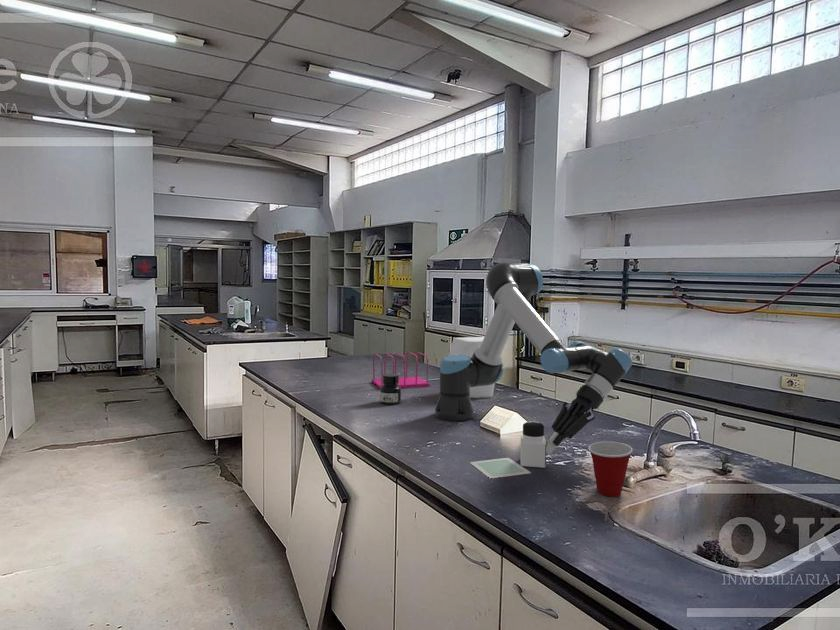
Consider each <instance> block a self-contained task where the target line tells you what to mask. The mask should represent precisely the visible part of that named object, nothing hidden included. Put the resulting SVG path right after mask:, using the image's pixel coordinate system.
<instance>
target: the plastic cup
mask: <svg viewBox="0 0 840 630" xmlns="http://www.w3.org/2000/svg"><path fill="white" fill-rule="evenodd" d="M587 449H588V451H589V453H590V455H591V456H590V457H591V459H592V466H593V473H594V479H595V486H596V490H597V492H598V494H600V495H603V496H606V497H619V496H621V494H622V491H623V488H624V487H623V486H624V483H625V479H626V476H627V475H626V474H627V472H628V471H627V470H628V467H629V466H628V464H629V461H630V458H631V454H632V453H633V451H634V450H633V448H632V446H630V445H629V444H626V443H622V442H617V441H598V442H597V441H596V442H593V443H590V444H589V445H588V446H587Z"/></svg>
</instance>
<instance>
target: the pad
mask: <svg viewBox="0 0 840 630" xmlns="http://www.w3.org/2000/svg"><path fill="white" fill-rule="evenodd" d="M469 463H470V464H471V465H472V466H473V467H474V468H476V469H477V470H479V472H480V473H482V474H483V475H484V476H486V477H487V478H488V477H489V478H488V479H489V480H491V478H492V479H498V478H499V477H500V478H505V477H513V476H520V475H521V476H522V475H528V474H532V472H531V471H530V470H528V469H527V468H525V467H524V466H521V465H520V463H517V462H516V461H514V460H512V459H511V458H510V457H503V458H494V459H485V460H477V461H470V462H469ZM500 478H499V479H500Z"/></svg>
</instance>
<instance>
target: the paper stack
mask: <svg viewBox="0 0 840 630" xmlns="http://www.w3.org/2000/svg"><path fill="white" fill-rule="evenodd" d="M484 337H485V336H469V337H454V338H453V340H452V343H450V351H449V354H448V356H451V355H468V356H470V358H471V357H472V356H473V353H474V351H475V349H476V348H479V347H481V344H482V342H483V339H484ZM495 386H496V383H494V384H491V385H485V386H477V387H470V399H471V398H472V399H473V398H475V399H478V398H479V399H483V398H484V399H488V398H489V397H490V398H492V397H493V396H494V389H495Z"/></svg>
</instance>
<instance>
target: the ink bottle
mask: <svg viewBox="0 0 840 630" xmlns="http://www.w3.org/2000/svg"><path fill="white" fill-rule="evenodd" d="M399 378H400V375H399V374H398V373H396V374H395V373H394V374H393V373H386V374H384V373H383V384H384V385H383V386H381V388H380V389H379V390H380V391H379V402H380V404H382V403H383V405H387V404H395V405H399V404H401V403H402V388H401V387H400V386H399V385H398V383H399Z"/></svg>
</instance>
